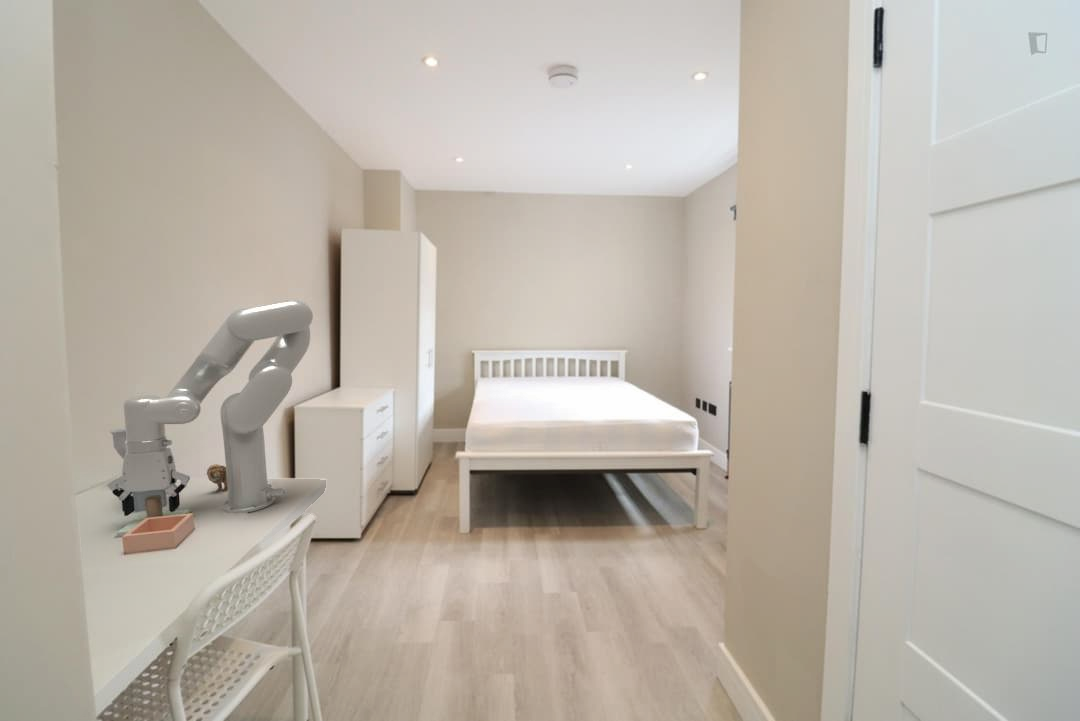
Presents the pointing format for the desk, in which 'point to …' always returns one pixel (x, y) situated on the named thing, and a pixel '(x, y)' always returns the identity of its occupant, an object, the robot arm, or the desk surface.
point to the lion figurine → (218, 476)
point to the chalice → (119, 441)
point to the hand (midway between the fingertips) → (152, 511)
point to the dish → (158, 533)
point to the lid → (150, 513)
